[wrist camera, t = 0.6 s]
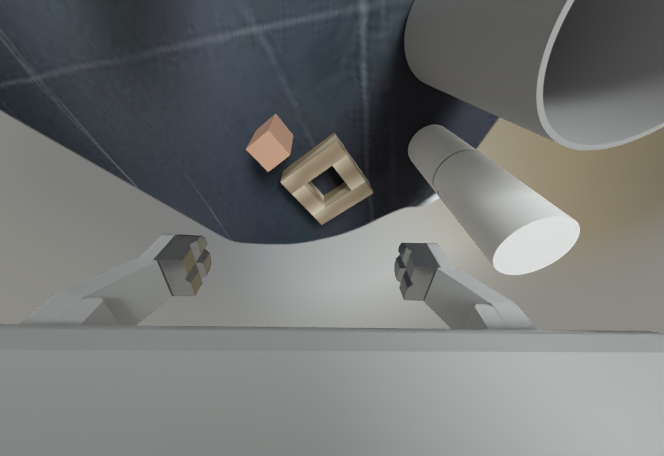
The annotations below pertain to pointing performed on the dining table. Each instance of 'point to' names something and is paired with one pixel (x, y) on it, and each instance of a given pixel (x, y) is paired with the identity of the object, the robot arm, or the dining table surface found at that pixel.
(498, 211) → the cylindrical container
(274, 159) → the peg
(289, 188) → the socket block
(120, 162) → the dining table surface
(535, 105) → the cylinder vase
